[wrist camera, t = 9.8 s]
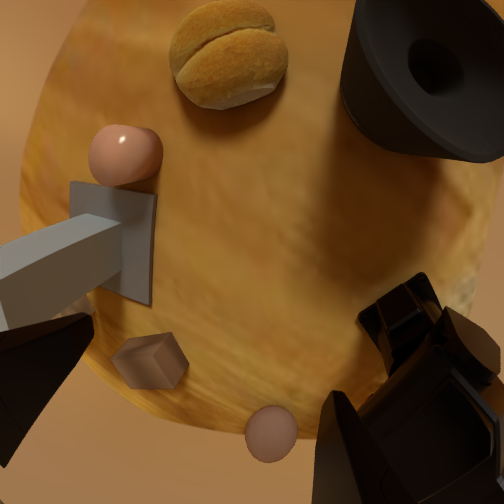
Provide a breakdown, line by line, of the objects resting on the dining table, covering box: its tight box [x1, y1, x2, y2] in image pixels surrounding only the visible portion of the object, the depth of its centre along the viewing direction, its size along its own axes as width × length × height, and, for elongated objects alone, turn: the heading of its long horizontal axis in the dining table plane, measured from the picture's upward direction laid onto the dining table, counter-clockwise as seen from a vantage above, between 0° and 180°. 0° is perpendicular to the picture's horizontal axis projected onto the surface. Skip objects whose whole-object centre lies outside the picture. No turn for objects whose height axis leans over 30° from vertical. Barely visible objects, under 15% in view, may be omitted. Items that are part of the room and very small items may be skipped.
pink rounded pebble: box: [89, 125, 163, 186], centre depth 18 cm, size 4×4×4 cm
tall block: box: [0, 213, 122, 332], centre depth 17 cm, size 4×4×13 cm
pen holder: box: [340, 0, 504, 163], centre depth 11 cm, size 9×9×10 cm
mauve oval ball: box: [245, 406, 298, 463], centre depth 23 cm, size 5×5×7 cm
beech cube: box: [50, 294, 95, 320], centre depth 25 cm, size 4×4×4 cm
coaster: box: [70, 181, 157, 305], centre depth 23 cm, size 10×10×1 cm
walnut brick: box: [110, 332, 189, 389], centre depth 25 cm, size 6×4×4 cm, turn 110°
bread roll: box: [169, 0, 288, 110], centre depth 15 cm, size 8×9×4 cm
